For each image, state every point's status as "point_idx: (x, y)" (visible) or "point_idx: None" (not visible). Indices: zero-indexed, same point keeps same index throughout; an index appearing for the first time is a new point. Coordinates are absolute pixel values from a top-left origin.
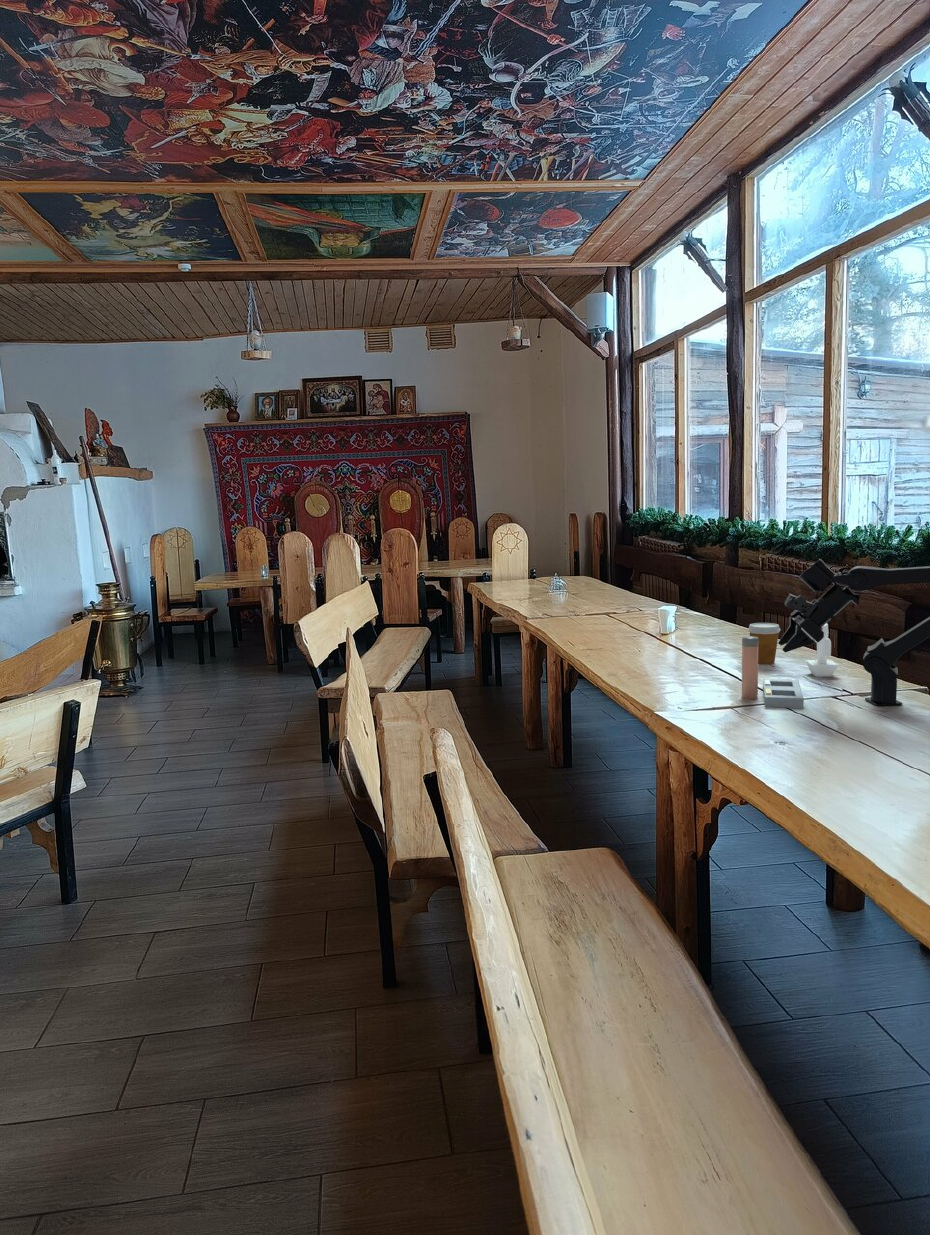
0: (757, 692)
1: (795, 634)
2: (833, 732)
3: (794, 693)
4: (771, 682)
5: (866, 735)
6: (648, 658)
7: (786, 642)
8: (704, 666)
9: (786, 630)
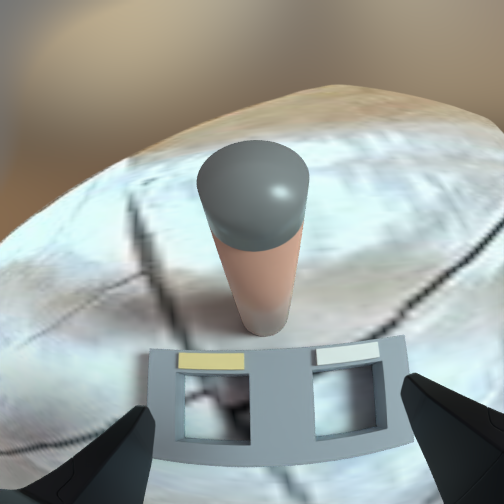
0: (257, 331)
1: (30, 488)
2: (14, 443)
3: (237, 444)
4: (380, 365)
5: (14, 484)
6: (484, 132)
7: (415, 428)
8: (501, 199)
9: (495, 416)
